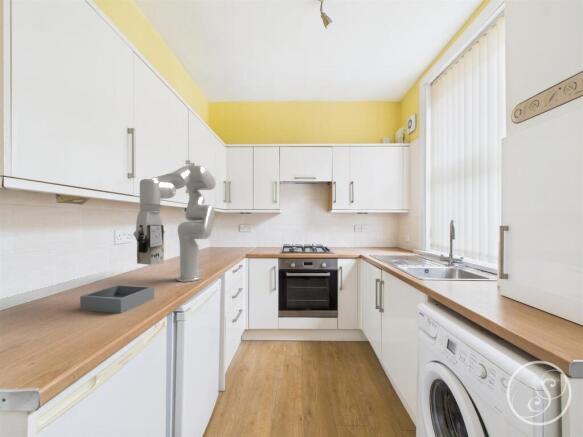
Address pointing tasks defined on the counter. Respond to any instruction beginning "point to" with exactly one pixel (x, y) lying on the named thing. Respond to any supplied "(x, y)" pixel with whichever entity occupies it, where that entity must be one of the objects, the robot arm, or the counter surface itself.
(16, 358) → the counter surface
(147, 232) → the robot arm
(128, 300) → the box
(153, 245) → the coffee box
